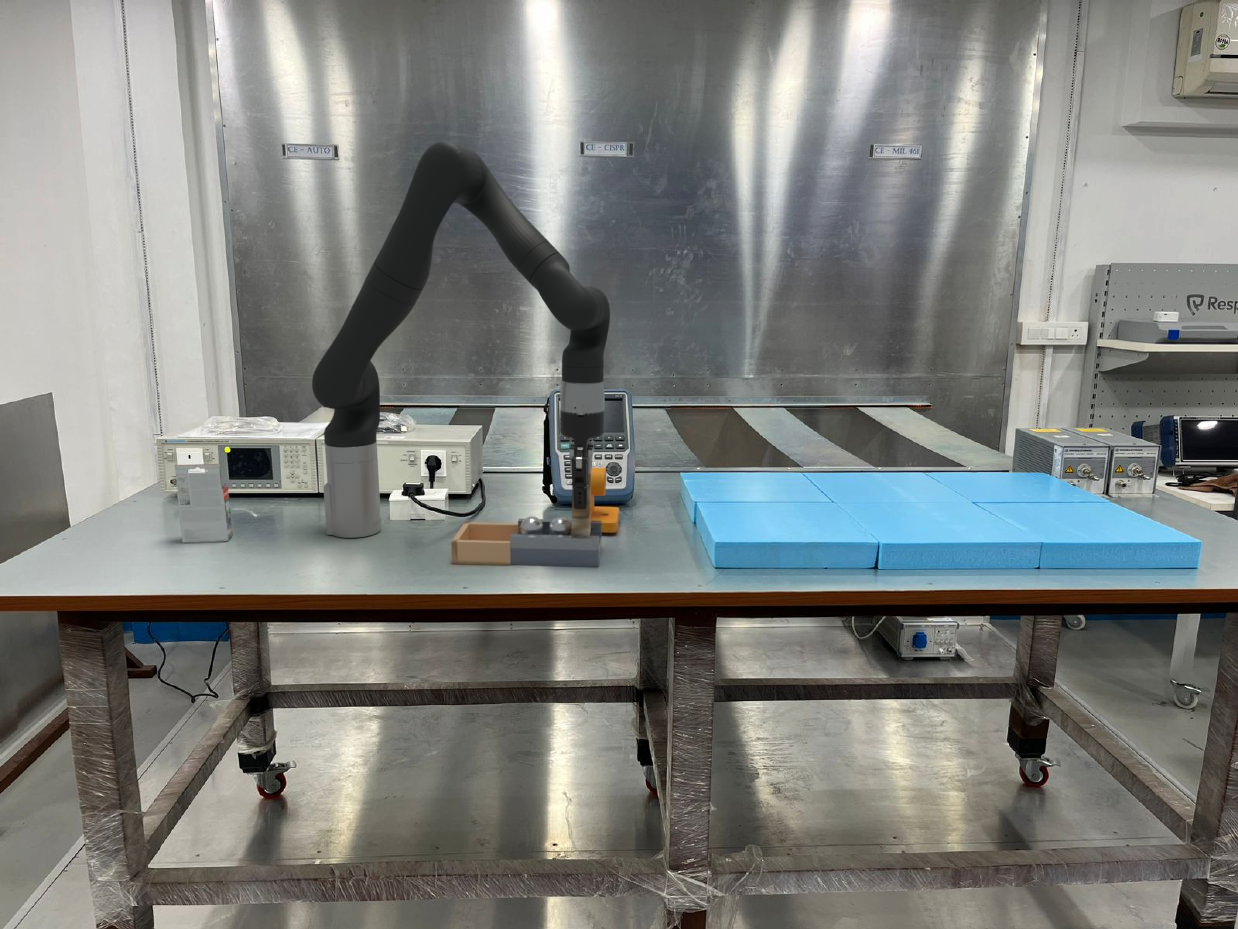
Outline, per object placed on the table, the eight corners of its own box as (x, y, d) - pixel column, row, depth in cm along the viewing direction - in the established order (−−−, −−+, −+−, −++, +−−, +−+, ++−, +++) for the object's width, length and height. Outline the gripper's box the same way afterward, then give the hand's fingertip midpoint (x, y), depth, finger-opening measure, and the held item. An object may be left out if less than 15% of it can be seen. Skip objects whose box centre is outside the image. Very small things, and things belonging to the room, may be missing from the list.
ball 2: (547, 542, 146) (547, 520, 145) (550, 535, 150) (550, 514, 149) (570, 543, 146) (570, 521, 145) (572, 536, 150) (572, 514, 149)
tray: (452, 564, 144) (451, 541, 143) (465, 543, 154) (464, 522, 153) (510, 565, 143) (510, 543, 142) (519, 544, 154) (519, 523, 153)
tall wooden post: (571, 541, 145) (572, 462, 142) (573, 531, 150) (574, 455, 147) (588, 542, 145) (589, 463, 142) (590, 532, 150) (591, 455, 147)
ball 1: (519, 542, 146) (518, 520, 145) (522, 534, 150) (522, 513, 149) (542, 542, 146) (541, 520, 145) (544, 535, 150) (544, 513, 149)
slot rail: (510, 564, 144) (510, 536, 142) (519, 544, 154) (519, 518, 153) (598, 567, 143) (598, 539, 142) (601, 546, 153) (601, 520, 152)
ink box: (188, 537, 155) (179, 460, 152) (233, 535, 156) (226, 459, 153) (181, 544, 152) (172, 465, 148) (228, 542, 153) (220, 464, 149)
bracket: (616, 536, 160) (617, 475, 157) (578, 535, 160) (578, 474, 157) (619, 520, 170) (620, 462, 167) (583, 518, 170) (583, 461, 168)
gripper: (563, 400, 149) (563, 493, 153) (555, 414, 136) (555, 516, 140) (606, 401, 149) (604, 495, 153) (602, 415, 135) (600, 518, 139)
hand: (581, 504), depth 146 cm, fingers closed on tall wooden post, 3 cm apart
